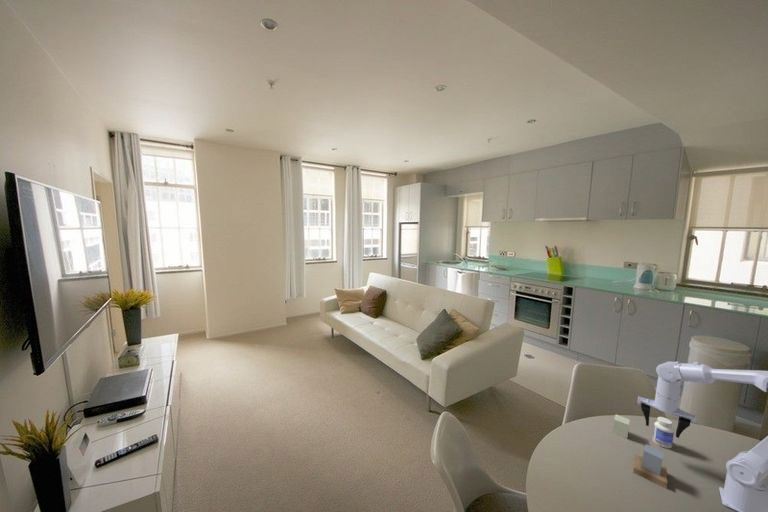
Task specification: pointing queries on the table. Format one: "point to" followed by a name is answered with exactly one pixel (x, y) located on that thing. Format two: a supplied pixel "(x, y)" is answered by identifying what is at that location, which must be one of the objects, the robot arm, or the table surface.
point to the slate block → (652, 459)
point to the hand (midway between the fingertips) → (661, 430)
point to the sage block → (621, 426)
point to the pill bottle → (663, 432)
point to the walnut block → (650, 473)
